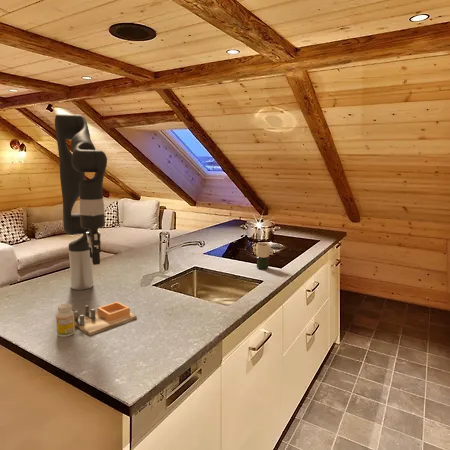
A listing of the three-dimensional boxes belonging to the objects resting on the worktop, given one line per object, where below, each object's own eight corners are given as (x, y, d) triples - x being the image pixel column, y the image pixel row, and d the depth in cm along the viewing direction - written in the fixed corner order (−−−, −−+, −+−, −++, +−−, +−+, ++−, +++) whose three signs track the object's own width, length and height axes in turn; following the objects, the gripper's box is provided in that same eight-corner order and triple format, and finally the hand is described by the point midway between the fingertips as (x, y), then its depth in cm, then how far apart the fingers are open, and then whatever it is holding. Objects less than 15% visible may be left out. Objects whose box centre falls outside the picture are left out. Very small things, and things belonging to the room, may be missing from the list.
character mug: (274, 267, 195) (275, 244, 193) (270, 271, 189) (270, 247, 187) (255, 265, 200) (256, 241, 198) (250, 268, 194) (251, 244, 191)
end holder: (97, 314, 133) (97, 307, 133) (117, 307, 139) (117, 301, 138) (109, 321, 128) (109, 314, 127) (129, 314, 133) (129, 307, 133)
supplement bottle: (71, 337, 118) (69, 309, 116) (54, 337, 118) (52, 309, 116) (77, 329, 123) (76, 302, 122) (61, 329, 123) (59, 302, 122)
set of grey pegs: (71, 319, 129) (70, 310, 128) (88, 314, 133) (87, 305, 132) (81, 326, 124) (80, 316, 123) (98, 320, 128) (98, 310, 127)
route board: (70, 322, 129) (69, 319, 128) (115, 307, 142) (115, 304, 142) (89, 335, 119) (89, 332, 119) (136, 318, 132) (136, 315, 132)
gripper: (78, 210, 123) (81, 256, 126) (81, 216, 111) (84, 268, 114) (101, 209, 127) (103, 254, 129) (107, 215, 114) (109, 265, 117)
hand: (94, 260), depth 122 cm, fingers open, 8 cm apart
